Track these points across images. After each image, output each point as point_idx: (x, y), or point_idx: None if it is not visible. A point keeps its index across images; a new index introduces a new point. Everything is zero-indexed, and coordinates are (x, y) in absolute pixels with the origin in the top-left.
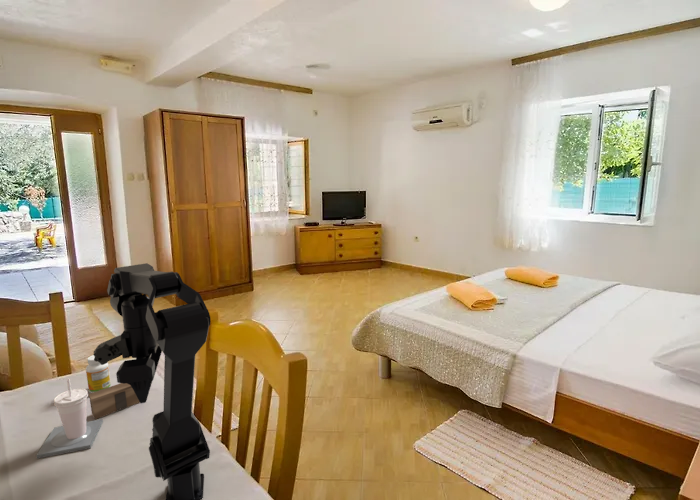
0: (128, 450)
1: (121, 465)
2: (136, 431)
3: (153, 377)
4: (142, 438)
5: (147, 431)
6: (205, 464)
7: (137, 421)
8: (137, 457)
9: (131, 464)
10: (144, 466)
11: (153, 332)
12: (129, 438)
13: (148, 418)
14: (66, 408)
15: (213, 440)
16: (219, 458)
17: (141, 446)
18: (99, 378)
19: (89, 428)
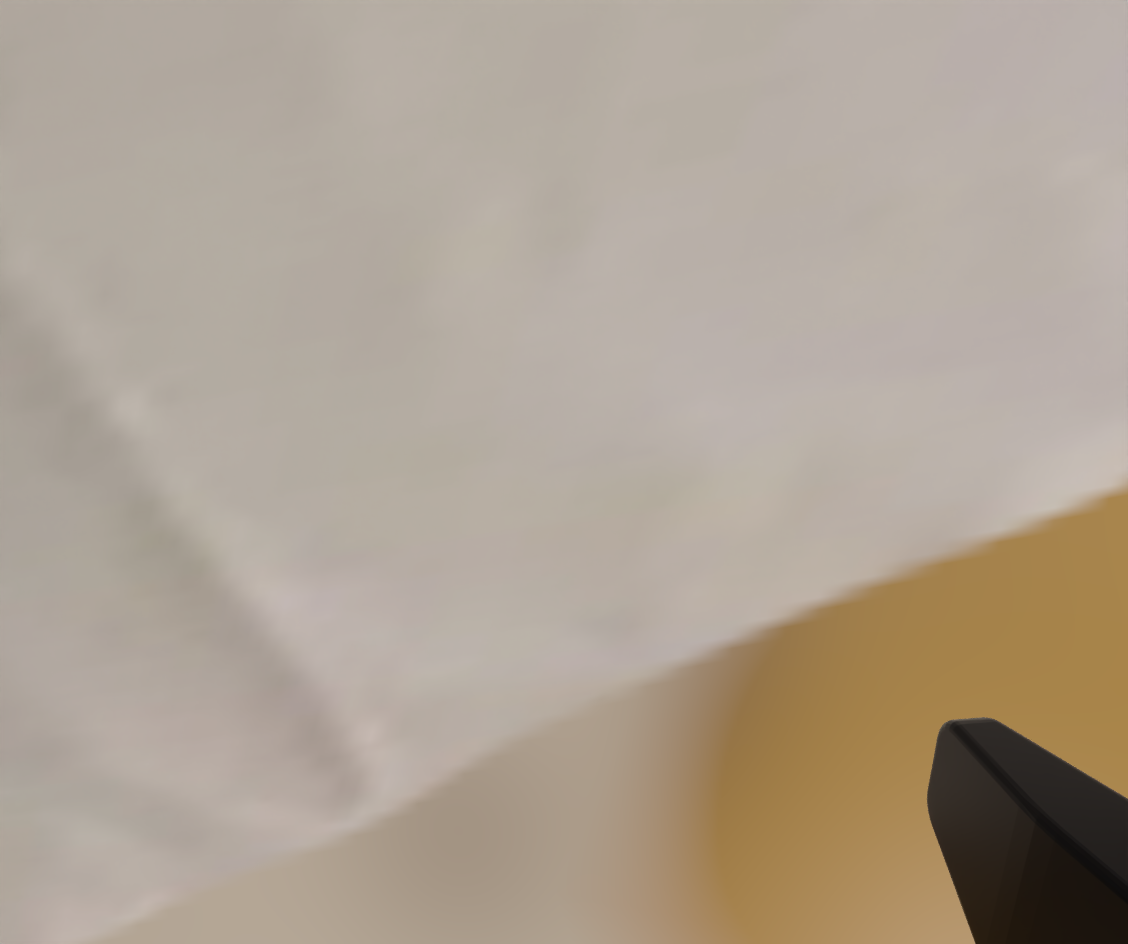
0: (392, 63)
1: (114, 44)
2: (765, 78)
3: (962, 896)
4: (589, 185)
5: (713, 216)
6: (25, 808)
7: (991, 43)
8: (233, 202)
9: (116, 161)
10: (62, 310)
11: None
12: (642, 19)
13: (994, 174)
14: None
15: (351, 828)
16: (91, 889)
17: (432, 205)
18: None
19: None
